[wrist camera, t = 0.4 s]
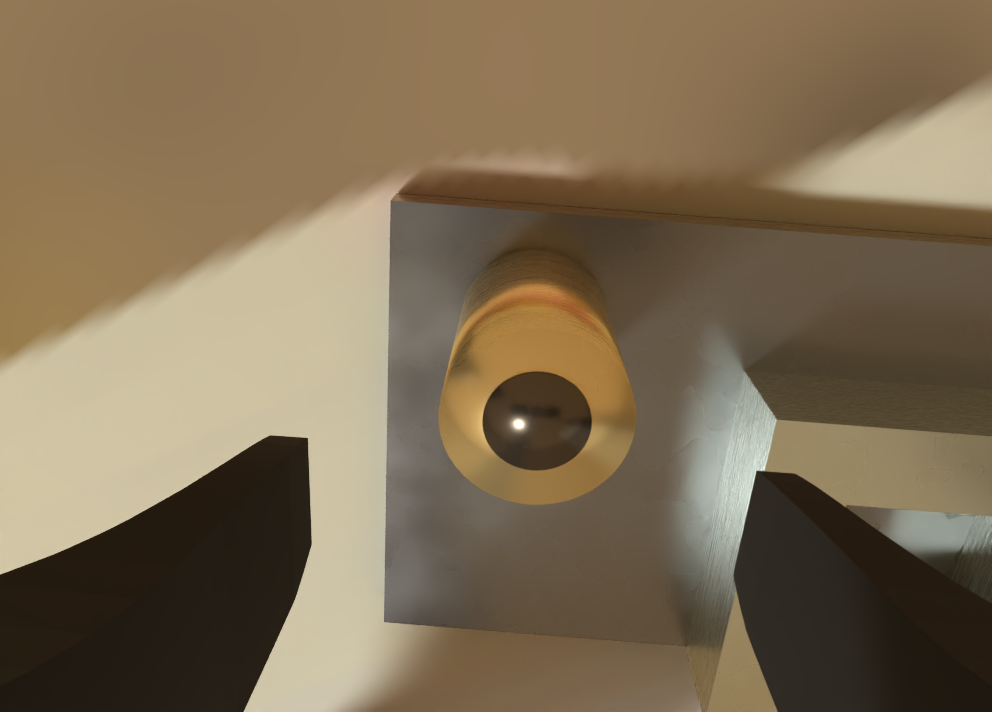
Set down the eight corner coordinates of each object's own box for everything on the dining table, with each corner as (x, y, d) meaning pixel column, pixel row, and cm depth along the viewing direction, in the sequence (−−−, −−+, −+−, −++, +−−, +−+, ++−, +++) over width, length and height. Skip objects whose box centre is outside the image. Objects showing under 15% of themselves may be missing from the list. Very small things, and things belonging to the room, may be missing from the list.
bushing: (597, 391, 22) (622, 514, 16) (457, 380, 22) (434, 499, 16) (615, 255, 20) (650, 338, 14) (465, 243, 20) (442, 322, 14)
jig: (970, 647, 26) (1045, 748, 22) (389, 601, 26) (366, 693, 22) (1131, 249, 20) (1264, 294, 17) (396, 193, 21) (368, 226, 17)
